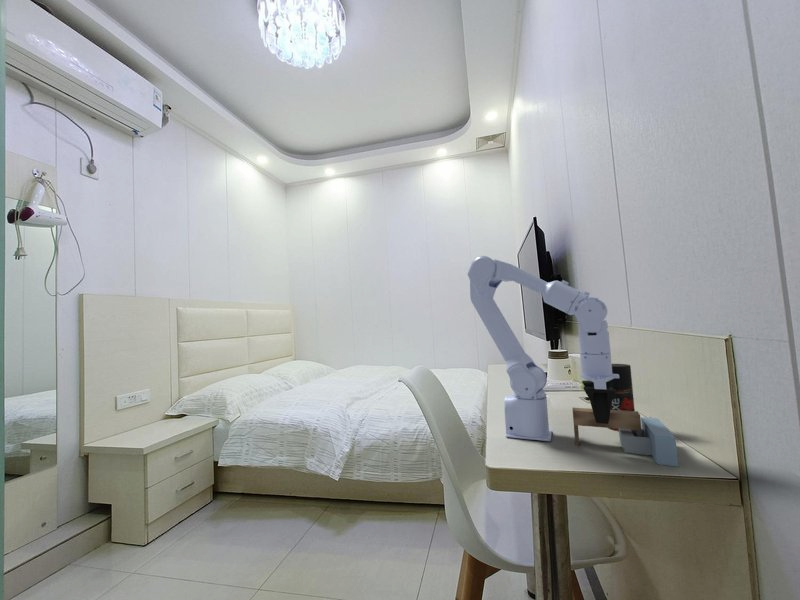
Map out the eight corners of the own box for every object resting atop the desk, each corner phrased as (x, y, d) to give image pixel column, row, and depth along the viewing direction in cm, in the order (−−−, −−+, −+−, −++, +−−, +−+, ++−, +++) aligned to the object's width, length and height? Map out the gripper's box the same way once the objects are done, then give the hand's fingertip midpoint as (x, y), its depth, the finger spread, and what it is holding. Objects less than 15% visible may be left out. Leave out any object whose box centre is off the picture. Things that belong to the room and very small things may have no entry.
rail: (575, 444, 72) (572, 410, 73) (575, 439, 75) (572, 407, 76) (643, 451, 67) (640, 414, 68) (640, 446, 70) (637, 411, 70)
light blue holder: (628, 460, 63) (625, 433, 63) (618, 439, 74) (616, 415, 75) (678, 466, 60) (675, 437, 60) (660, 442, 71) (658, 418, 72)
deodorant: (608, 430, 81) (602, 366, 82) (606, 423, 86) (601, 363, 87) (638, 433, 78) (632, 366, 79) (634, 426, 83) (628, 363, 84)
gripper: (621, 356, 65) (628, 429, 64) (612, 350, 78) (618, 411, 77) (580, 356, 68) (585, 426, 67) (578, 350, 81) (582, 409, 80)
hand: (600, 418), depth 72 cm, fingers open, 7 cm apart
